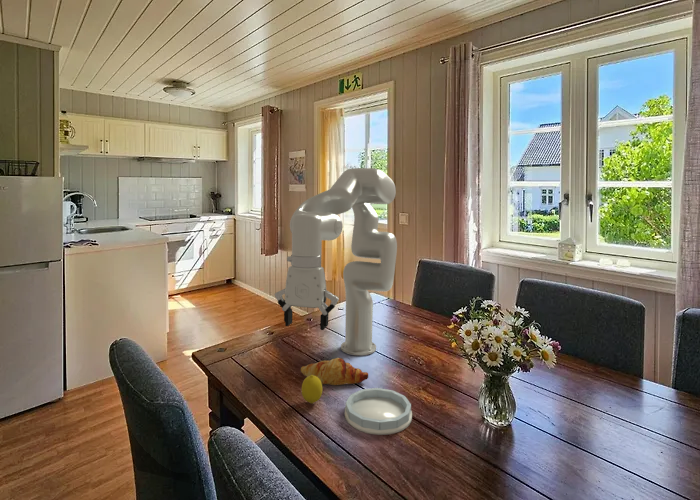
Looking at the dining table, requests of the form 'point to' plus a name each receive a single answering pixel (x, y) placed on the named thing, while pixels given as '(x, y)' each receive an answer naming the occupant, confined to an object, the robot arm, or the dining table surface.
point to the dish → (378, 411)
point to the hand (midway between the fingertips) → (305, 326)
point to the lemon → (311, 389)
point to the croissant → (335, 372)
